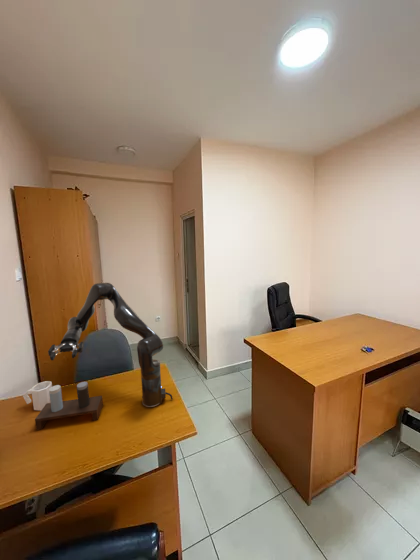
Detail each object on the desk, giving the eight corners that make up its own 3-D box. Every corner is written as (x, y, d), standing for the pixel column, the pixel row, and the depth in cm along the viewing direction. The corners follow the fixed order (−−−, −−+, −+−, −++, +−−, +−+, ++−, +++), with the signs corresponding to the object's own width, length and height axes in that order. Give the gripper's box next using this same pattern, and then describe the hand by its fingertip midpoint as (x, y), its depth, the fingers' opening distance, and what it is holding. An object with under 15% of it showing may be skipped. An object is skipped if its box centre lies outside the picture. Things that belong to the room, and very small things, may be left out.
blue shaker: (64, 404, 103) (62, 384, 102) (60, 411, 99) (58, 390, 97) (54, 406, 102) (51, 385, 101) (49, 412, 98) (46, 391, 97)
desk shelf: (103, 404, 110) (102, 395, 109) (97, 419, 100) (96, 409, 99) (47, 413, 105) (46, 403, 104) (36, 429, 95) (34, 419, 94)
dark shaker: (90, 400, 105) (88, 380, 104) (88, 407, 101) (85, 386, 100) (80, 402, 105) (78, 382, 103) (77, 408, 100) (75, 388, 99)
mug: (57, 397, 116) (54, 379, 114) (50, 408, 108) (47, 389, 106) (29, 401, 113) (27, 383, 111) (20, 413, 104) (17, 394, 103)
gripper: (54, 334, 117) (43, 352, 102) (85, 331, 121) (79, 349, 107) (56, 346, 119) (45, 366, 104) (86, 343, 124) (80, 362, 109)
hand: (62, 357), depth 106 cm, fingers open, 8 cm apart
